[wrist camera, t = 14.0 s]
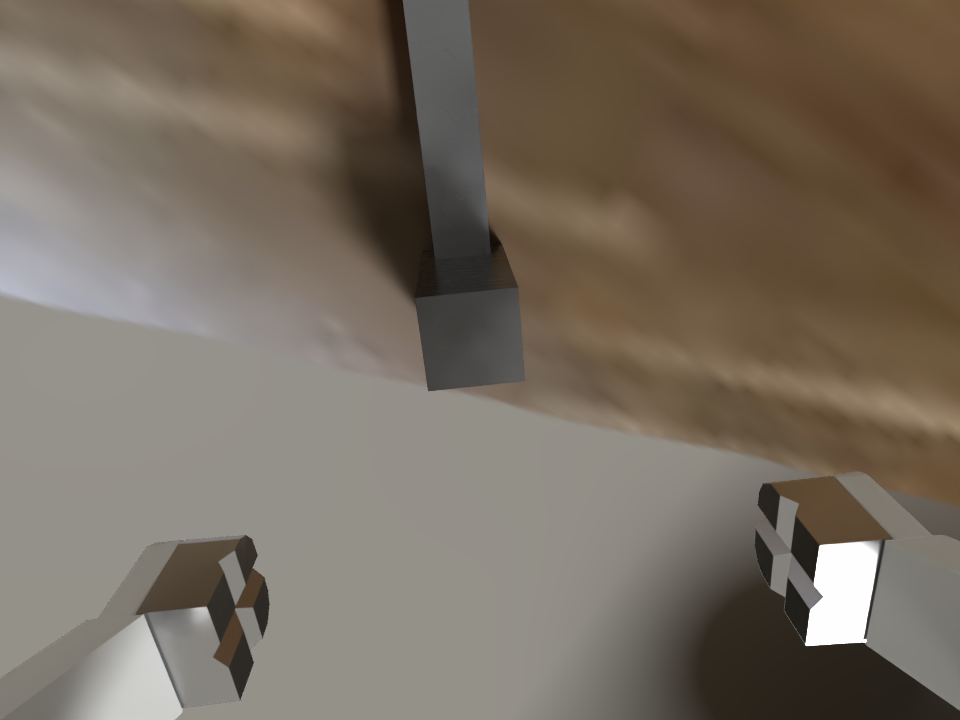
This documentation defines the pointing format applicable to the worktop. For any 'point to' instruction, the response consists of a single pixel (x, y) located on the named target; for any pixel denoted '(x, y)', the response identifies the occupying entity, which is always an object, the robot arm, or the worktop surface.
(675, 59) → the worktop surface
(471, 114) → the hook tool
